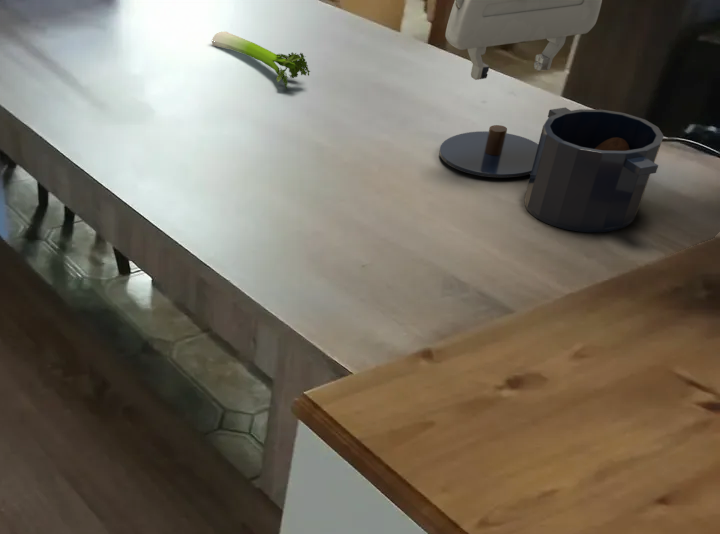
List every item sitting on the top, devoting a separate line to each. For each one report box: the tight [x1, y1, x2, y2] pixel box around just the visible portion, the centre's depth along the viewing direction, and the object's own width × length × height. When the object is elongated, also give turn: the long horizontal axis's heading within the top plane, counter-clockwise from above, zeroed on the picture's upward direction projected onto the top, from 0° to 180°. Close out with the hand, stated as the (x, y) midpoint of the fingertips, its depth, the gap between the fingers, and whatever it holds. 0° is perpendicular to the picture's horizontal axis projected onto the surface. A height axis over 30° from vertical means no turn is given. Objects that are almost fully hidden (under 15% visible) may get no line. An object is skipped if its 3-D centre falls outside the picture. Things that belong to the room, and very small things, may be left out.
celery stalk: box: [211, 31, 310, 90], centre depth 166 cm, size 6×7×30 cm
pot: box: [524, 107, 664, 233], centre depth 119 cm, size 14×19×10 cm
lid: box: [438, 124, 539, 179], centre depth 133 cm, size 15×15×5 cm
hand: (509, 73), depth 127 cm, fingers open, 8 cm apart
